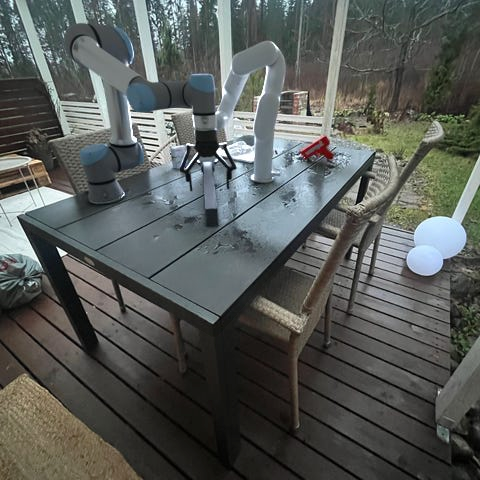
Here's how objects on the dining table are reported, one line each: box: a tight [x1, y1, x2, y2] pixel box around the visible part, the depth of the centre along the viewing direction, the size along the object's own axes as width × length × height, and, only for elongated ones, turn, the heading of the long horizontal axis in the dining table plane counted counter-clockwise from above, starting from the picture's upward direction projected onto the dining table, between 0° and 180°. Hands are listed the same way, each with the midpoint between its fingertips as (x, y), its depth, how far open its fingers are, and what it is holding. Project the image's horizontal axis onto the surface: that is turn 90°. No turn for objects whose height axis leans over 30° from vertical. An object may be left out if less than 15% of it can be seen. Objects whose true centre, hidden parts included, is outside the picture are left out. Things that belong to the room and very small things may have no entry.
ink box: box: [169, 144, 189, 170], centre depth 162 cm, size 8×5×12 cm, turn 135°
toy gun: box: [299, 134, 335, 162], centre depth 173 cm, size 18×4×15 cm
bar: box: [203, 162, 219, 227], centre depth 127 cm, size 61×4×7 cm, turn 7°
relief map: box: [217, 140, 274, 164], centre depth 187 cm, size 27×35×5 cm
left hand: (209, 189), depth 101 cm, fingers open, 13 cm apart
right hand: (208, 172), depth 149 cm, fingers closed on bar, 4 cm apart
